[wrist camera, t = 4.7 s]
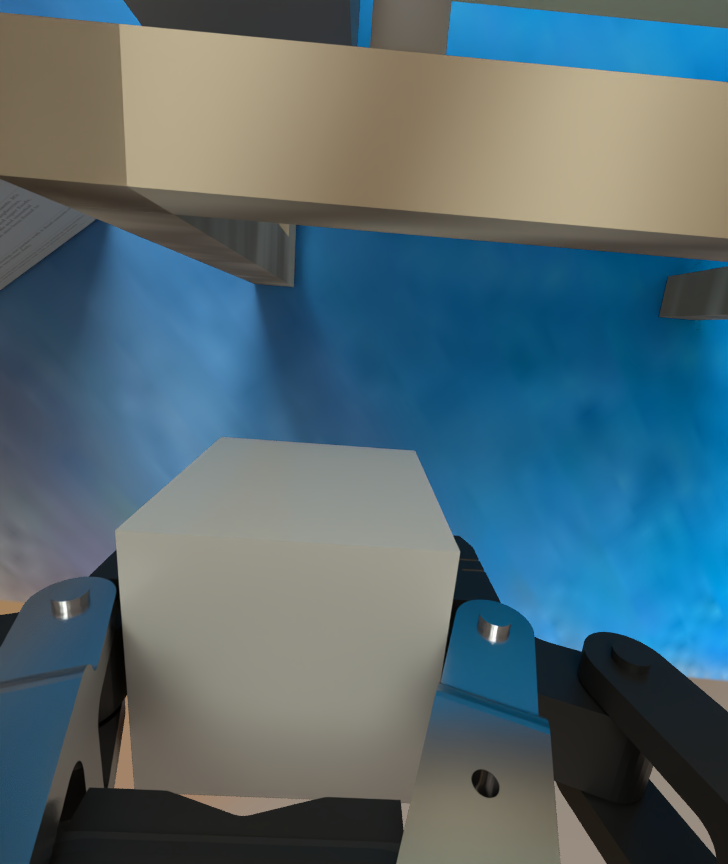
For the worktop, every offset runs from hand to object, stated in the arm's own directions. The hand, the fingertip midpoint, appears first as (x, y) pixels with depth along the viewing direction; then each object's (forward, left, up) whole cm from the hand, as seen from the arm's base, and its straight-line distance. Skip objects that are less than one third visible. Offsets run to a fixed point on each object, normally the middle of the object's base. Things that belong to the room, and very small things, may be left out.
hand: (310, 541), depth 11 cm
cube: (0, 0, -1) cm, 1 cm away
